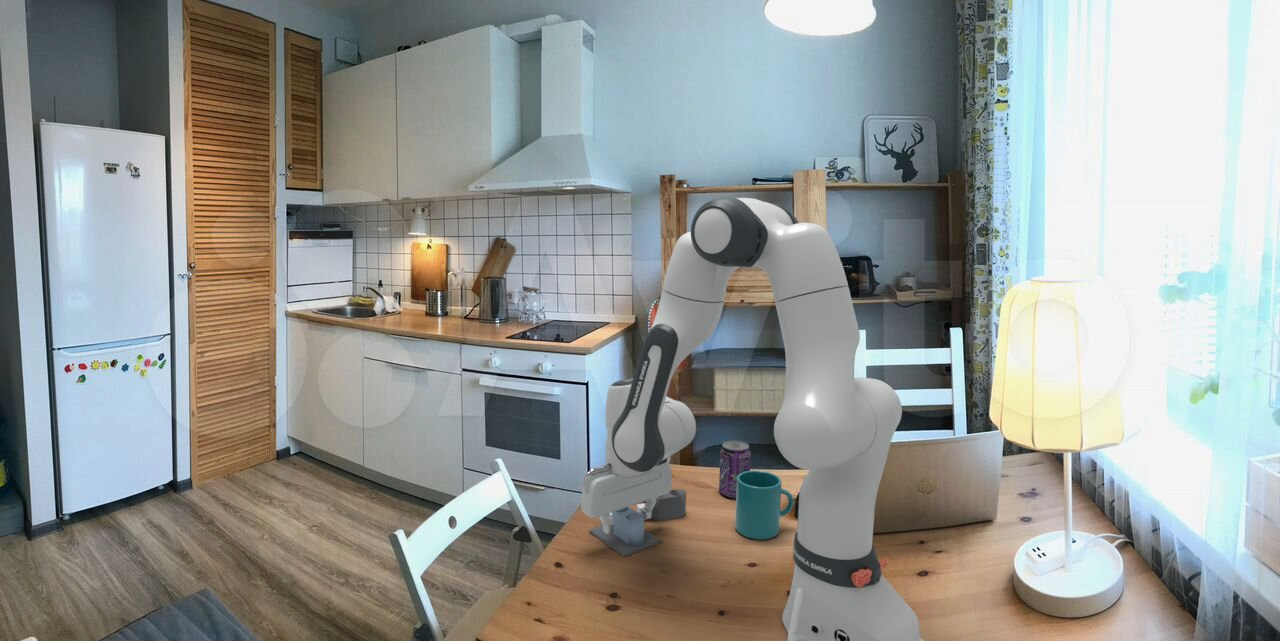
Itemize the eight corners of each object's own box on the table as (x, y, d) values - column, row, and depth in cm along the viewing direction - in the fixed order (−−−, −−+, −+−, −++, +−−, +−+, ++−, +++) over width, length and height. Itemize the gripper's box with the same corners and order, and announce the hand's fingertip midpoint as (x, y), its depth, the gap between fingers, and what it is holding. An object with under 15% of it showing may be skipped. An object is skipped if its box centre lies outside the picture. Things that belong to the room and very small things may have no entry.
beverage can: (719, 486, 149) (720, 439, 147) (748, 488, 148) (750, 440, 146) (718, 499, 142) (720, 449, 140) (749, 501, 141) (751, 451, 139)
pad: (660, 542, 122) (660, 539, 122) (624, 556, 117) (624, 553, 117) (624, 519, 132) (624, 517, 132) (589, 532, 126) (589, 529, 126)
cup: (799, 539, 124) (802, 486, 122) (741, 542, 123) (743, 488, 121) (784, 518, 133) (786, 469, 131) (730, 521, 132) (731, 471, 130)
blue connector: (647, 542, 121) (647, 518, 120) (633, 547, 119) (633, 523, 118) (615, 521, 130) (615, 499, 129) (601, 526, 127) (601, 503, 127)
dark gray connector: (682, 509, 137) (682, 488, 136) (688, 516, 133) (688, 494, 133) (635, 516, 133) (635, 494, 133) (640, 523, 130) (640, 501, 129)
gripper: (592, 476, 112) (593, 547, 114) (677, 452, 125) (675, 516, 127) (574, 466, 117) (575, 534, 119) (657, 443, 130) (656, 505, 132)
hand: (627, 524), depth 123 cm, fingers open, 8 cm apart
